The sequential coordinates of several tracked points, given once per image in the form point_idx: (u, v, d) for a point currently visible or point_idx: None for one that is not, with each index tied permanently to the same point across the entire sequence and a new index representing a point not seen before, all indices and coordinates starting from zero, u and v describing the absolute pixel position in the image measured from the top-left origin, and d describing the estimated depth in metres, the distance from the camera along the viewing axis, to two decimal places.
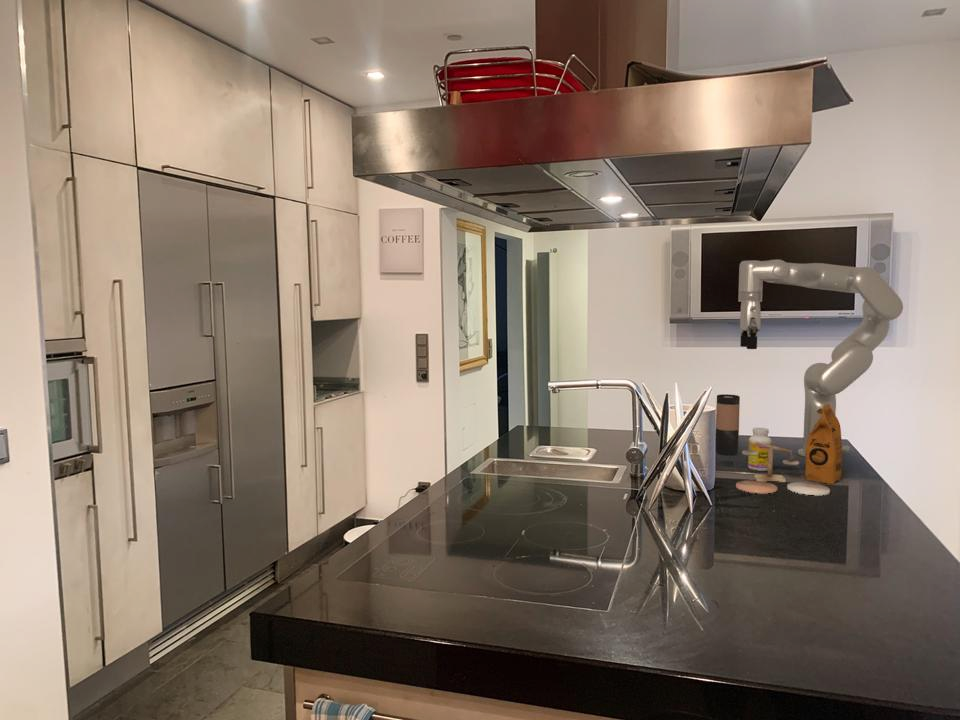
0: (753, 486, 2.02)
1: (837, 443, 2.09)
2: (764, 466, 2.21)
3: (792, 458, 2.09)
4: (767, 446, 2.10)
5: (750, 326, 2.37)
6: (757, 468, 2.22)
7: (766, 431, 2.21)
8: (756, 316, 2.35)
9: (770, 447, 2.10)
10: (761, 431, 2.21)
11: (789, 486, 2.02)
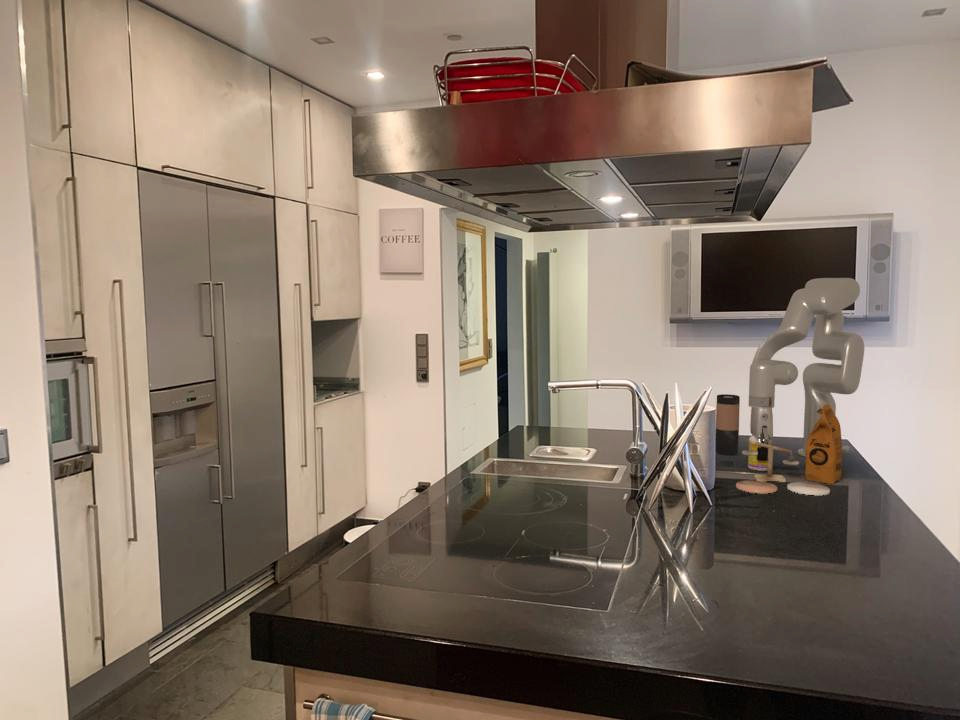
0: (753, 486, 2.02)
1: (837, 443, 2.09)
2: (764, 466, 2.21)
3: (792, 458, 2.09)
4: (767, 446, 2.10)
5: (761, 434, 2.21)
6: (757, 468, 2.22)
7: None
8: (768, 424, 2.18)
9: (770, 447, 2.10)
10: None
11: (789, 486, 2.02)
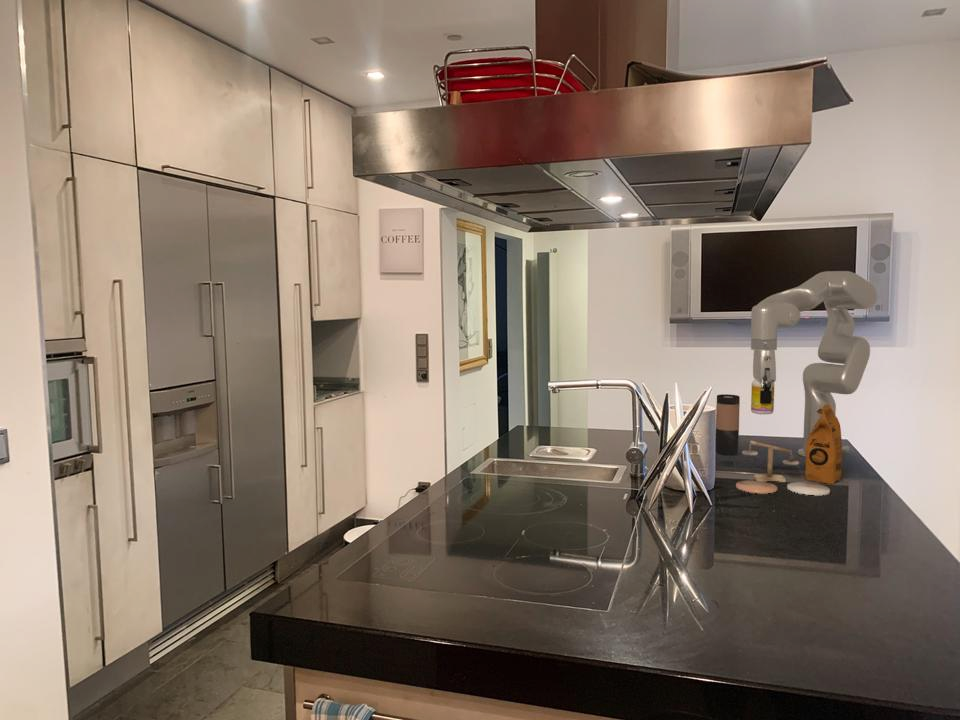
0: (753, 486, 2.02)
1: (837, 443, 2.09)
2: (767, 409, 2.20)
3: (792, 458, 2.09)
4: (767, 446, 2.10)
5: (764, 377, 2.19)
6: (760, 411, 2.20)
7: None
8: (771, 366, 2.16)
9: (770, 447, 2.10)
10: None
11: (789, 486, 2.02)
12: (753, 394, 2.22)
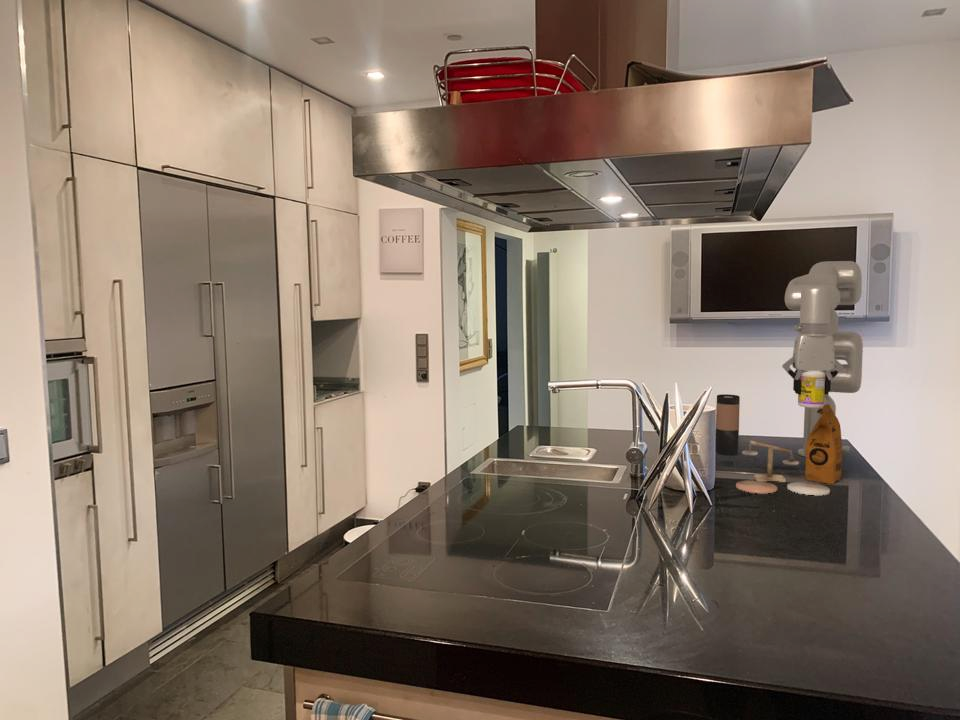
0: (753, 486, 2.02)
1: (837, 443, 2.09)
2: (799, 400, 1.98)
3: (792, 458, 2.09)
4: (767, 446, 2.10)
5: None
6: None
7: None
8: (795, 352, 1.97)
9: (770, 447, 2.10)
10: None
11: (789, 486, 2.02)
12: None
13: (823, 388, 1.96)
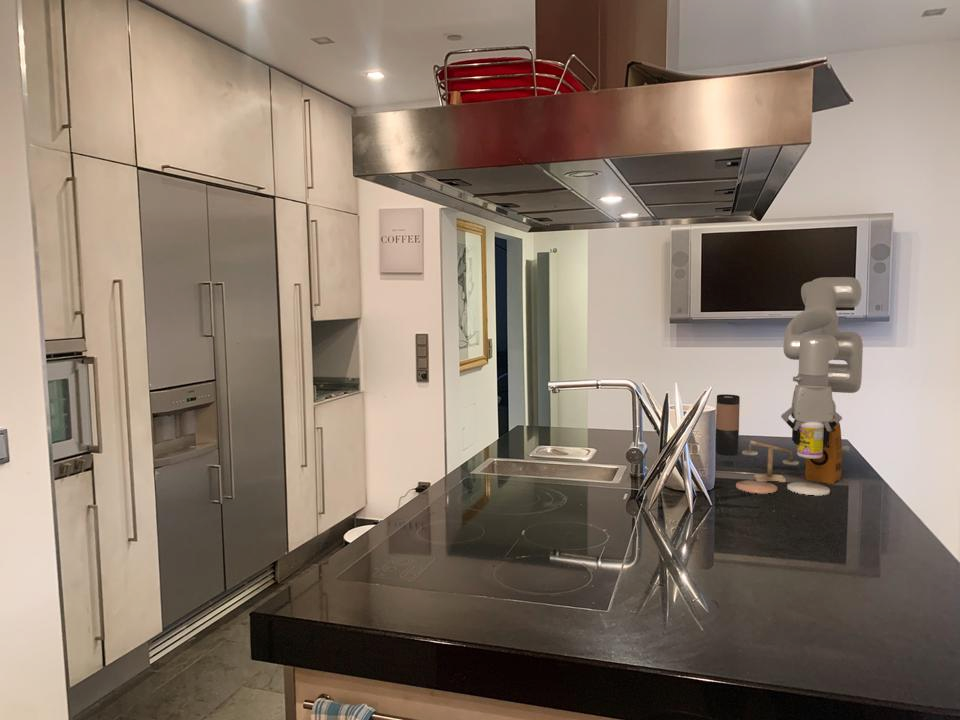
0: (753, 486, 2.02)
1: (837, 443, 2.09)
2: (798, 451, 1.99)
3: (792, 458, 2.09)
4: (767, 446, 2.10)
5: None
6: None
7: None
8: (794, 403, 1.98)
9: (770, 447, 2.10)
10: None
11: (789, 486, 2.02)
12: None
13: (822, 439, 1.97)
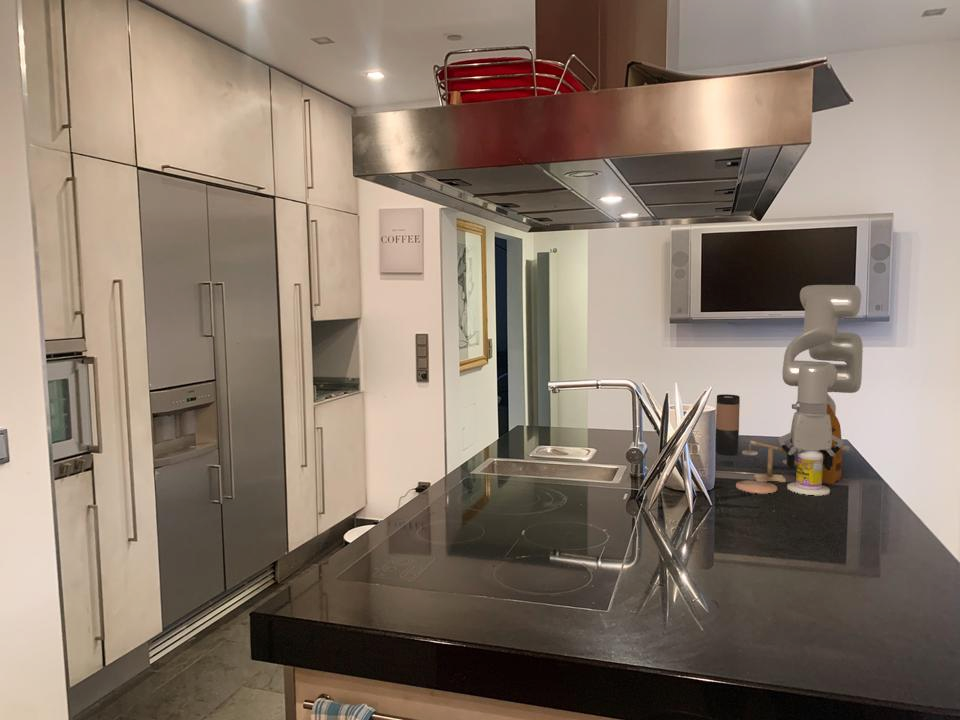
0: (753, 486, 2.02)
1: None
2: (797, 482, 2.00)
3: None
4: (767, 446, 2.10)
5: None
6: None
7: None
8: (793, 430, 1.99)
9: (770, 447, 2.10)
10: None
11: (789, 486, 2.02)
12: None
13: (821, 470, 1.98)
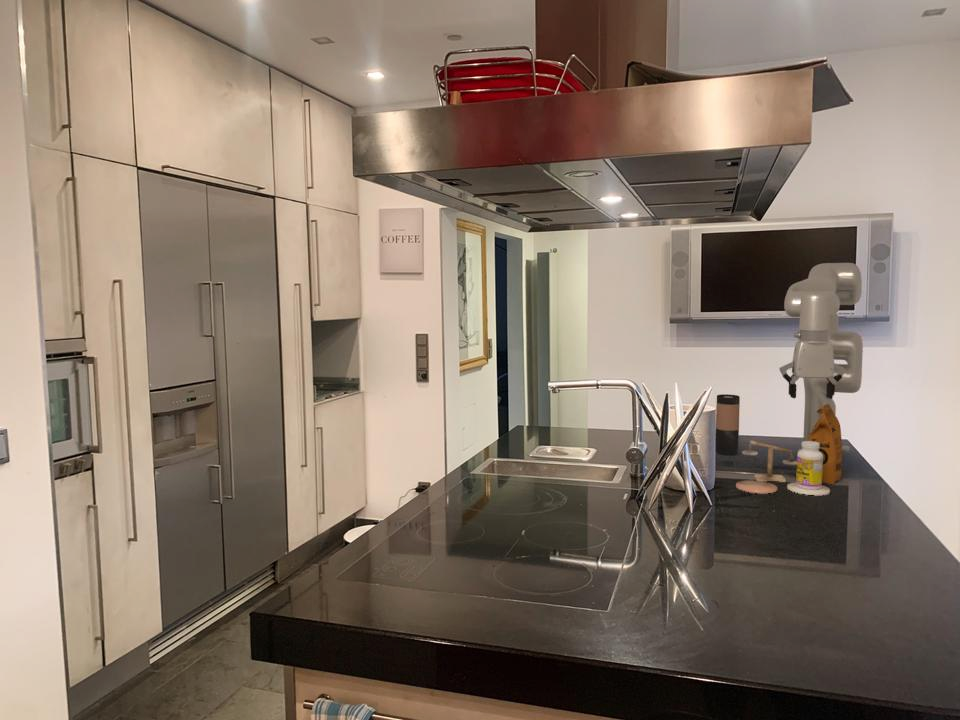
0: (753, 486, 2.02)
1: (837, 443, 2.09)
2: (797, 482, 2.00)
3: (792, 458, 2.09)
4: (767, 446, 2.10)
5: None
6: None
7: (804, 444, 1.99)
8: (795, 359, 1.97)
9: (770, 447, 2.10)
10: None
11: (789, 486, 2.02)
12: None
13: (821, 470, 1.98)
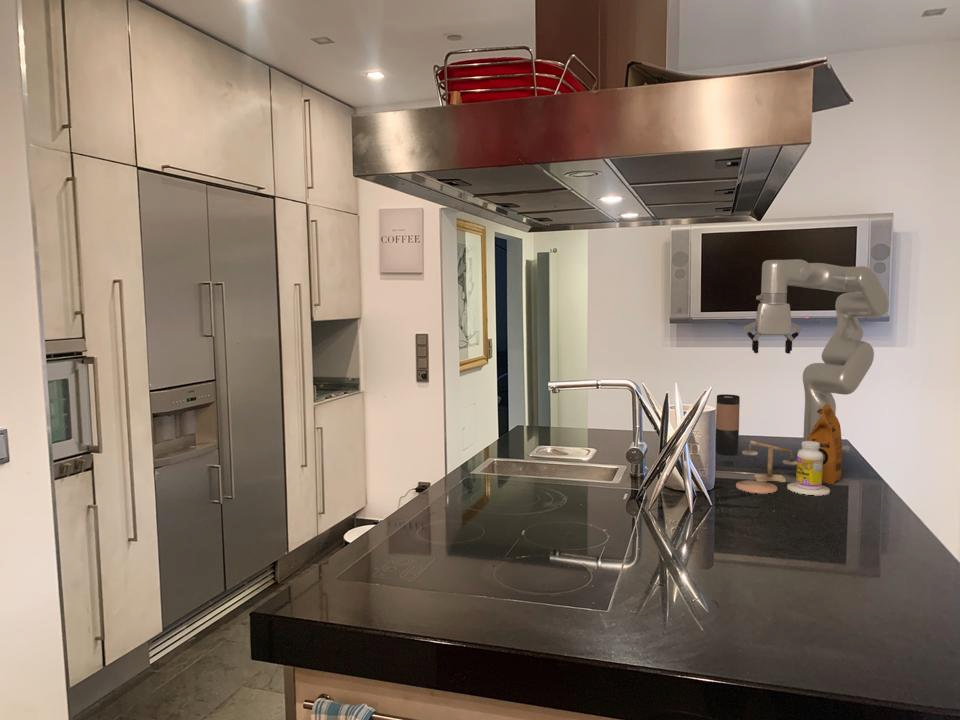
0: (753, 486, 2.02)
1: (837, 443, 2.09)
2: (797, 482, 2.00)
3: (792, 458, 2.09)
4: (767, 446, 2.10)
5: None
6: None
7: (804, 444, 1.99)
8: (757, 319, 2.25)
9: (770, 447, 2.10)
10: None
11: (789, 486, 2.02)
12: None
13: (821, 470, 1.98)
